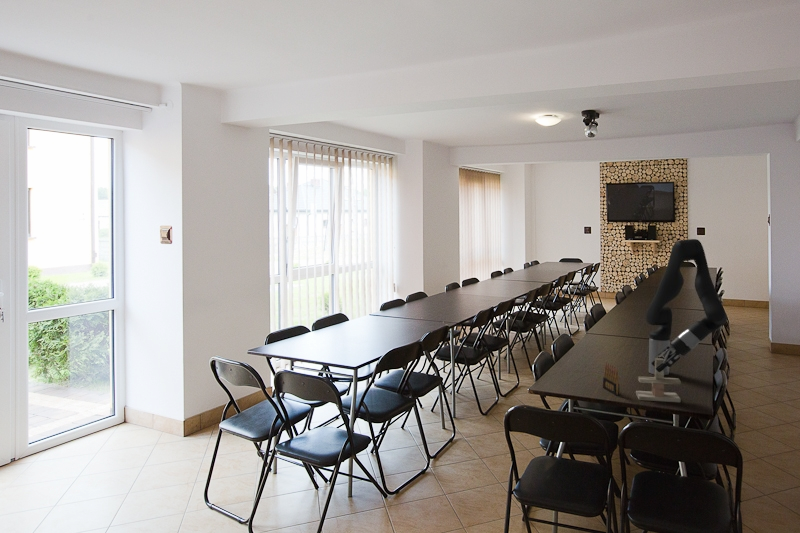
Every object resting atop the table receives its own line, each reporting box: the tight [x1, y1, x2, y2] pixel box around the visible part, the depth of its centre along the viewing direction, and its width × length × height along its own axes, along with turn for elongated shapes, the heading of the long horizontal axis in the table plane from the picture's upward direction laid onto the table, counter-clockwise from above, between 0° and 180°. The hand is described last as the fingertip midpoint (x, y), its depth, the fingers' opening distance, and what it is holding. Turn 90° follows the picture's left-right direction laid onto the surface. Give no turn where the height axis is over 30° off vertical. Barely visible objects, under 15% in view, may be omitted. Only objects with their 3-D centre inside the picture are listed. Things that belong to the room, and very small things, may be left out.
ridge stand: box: [635, 383, 682, 403], centre depth 234 cm, size 8×16×7 cm, turn 77°
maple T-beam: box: [637, 358, 682, 386], centre depth 233 cm, size 4×16×10 cm, turn 76°
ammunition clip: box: [602, 362, 620, 396], centre depth 244 cm, size 11×2×12 cm, turn 9°
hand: (654, 367), depth 233 cm, fingers open, 8 cm apart
